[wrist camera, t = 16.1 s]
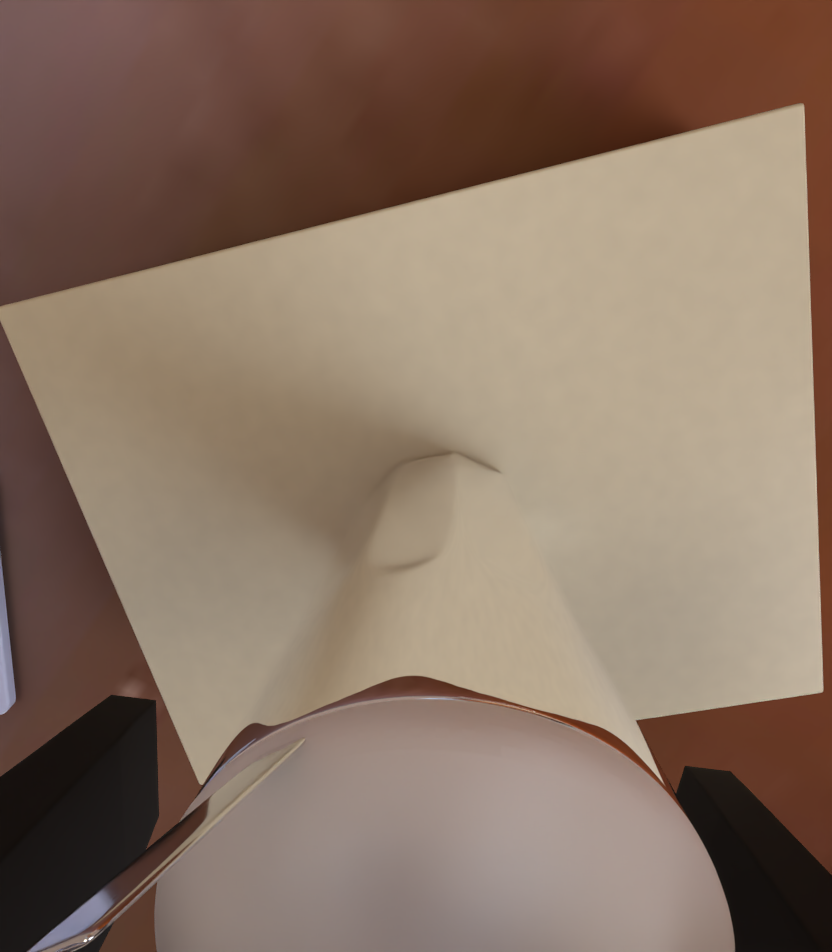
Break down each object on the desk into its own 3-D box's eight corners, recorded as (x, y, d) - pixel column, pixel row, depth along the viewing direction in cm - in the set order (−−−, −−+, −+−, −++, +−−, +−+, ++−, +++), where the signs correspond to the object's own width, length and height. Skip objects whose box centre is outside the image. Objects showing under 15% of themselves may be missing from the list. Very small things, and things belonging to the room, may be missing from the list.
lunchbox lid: (208, 766, 16) (199, 786, 15) (13, 304, 12) (-8, 307, 12) (810, 675, 14) (824, 693, 14) (787, 108, 11) (805, 101, 10)
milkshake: (472, 333, 12) (573, 740, 2) (600, 571, 13) (995, 1445, 4) (260, 451, 12) (-317, 1098, 3) (401, 662, 14) (301, 1538, 5)
